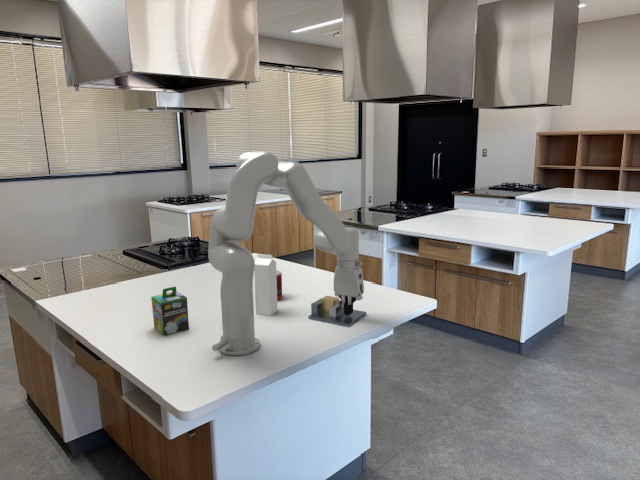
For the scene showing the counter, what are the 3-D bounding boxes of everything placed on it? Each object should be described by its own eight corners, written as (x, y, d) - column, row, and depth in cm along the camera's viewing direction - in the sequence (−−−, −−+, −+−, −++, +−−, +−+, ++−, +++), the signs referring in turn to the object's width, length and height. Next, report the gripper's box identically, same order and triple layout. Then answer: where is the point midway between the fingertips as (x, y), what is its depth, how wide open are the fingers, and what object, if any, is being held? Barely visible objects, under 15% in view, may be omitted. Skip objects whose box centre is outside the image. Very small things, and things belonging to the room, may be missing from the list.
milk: (263, 309, 176) (261, 252, 172) (277, 310, 174) (276, 253, 170) (255, 314, 171) (253, 255, 167) (270, 316, 169) (268, 256, 165)
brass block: (333, 315, 165) (333, 300, 164) (321, 313, 168) (321, 298, 167) (338, 312, 169) (338, 297, 168) (327, 310, 171) (326, 295, 170)
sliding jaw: (335, 319, 162) (335, 305, 161) (329, 317, 163) (329, 304, 162) (349, 310, 170) (349, 297, 169) (343, 309, 171) (343, 296, 171)
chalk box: (179, 322, 164) (176, 281, 161) (190, 329, 157) (187, 287, 154) (153, 328, 158) (149, 286, 155) (163, 336, 151) (159, 292, 148)
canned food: (279, 302, 184) (278, 275, 182) (259, 301, 185) (258, 274, 183) (284, 296, 191) (283, 270, 189) (265, 295, 193) (265, 269, 191)
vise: (348, 327, 157) (348, 312, 156) (308, 318, 165) (308, 305, 165) (366, 314, 169) (366, 301, 168) (328, 307, 177) (328, 294, 176)
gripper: (372, 263, 160) (372, 314, 164) (335, 258, 168) (335, 307, 172) (361, 268, 154) (362, 321, 157) (323, 263, 162) (324, 313, 166)
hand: (348, 313), depth 165 cm, fingers closed
